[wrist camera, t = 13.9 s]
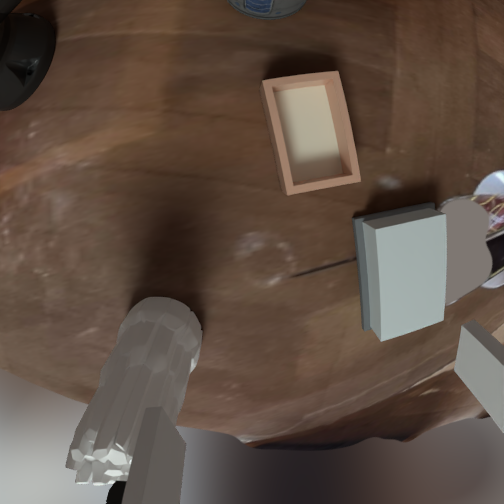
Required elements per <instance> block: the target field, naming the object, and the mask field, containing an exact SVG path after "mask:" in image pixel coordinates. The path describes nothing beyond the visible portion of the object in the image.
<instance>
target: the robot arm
mask: <svg viewBox="0 0 504 504" xmlns="http://www.w3.org/2000/svg"><path fill="white" fill-rule="evenodd" d="M21 1H22V0H0V111H7V110H11V109H13V108H16V107H17V106H19V105H21V104H22V103H23V102H24V101H26V100H27V99H28V98H29V97H30V96H31V95H32V94H33V92H34V91H35V90H36V89H37V87H38V86H39V84H40V83H41V81H42V80H43V78H44V76H45V74H46V72H47V70H48V68H49V66H50V63H51V60H52V57H53V53H54V48H55V33H54V29H53V27H52V25H51V24H50V22H49V21H48V20H46V19H45V18H43V17H41V16H39V15H37V14H34V13H11V12H12V11H13V9H14V8H15V7H16V6H17V5H18V4H19V3H20V2H21ZM454 371H455V372H456V373H457V375H458V376H459V377H460V378H461V379H462V381H463V382H464V383H465V384H466V386H467V387H468V388H469V389H470V391H471V392H472V393H473V394H474V396H475V397H476V398H477V399H478V401H479V402H480V403H481V404H482V406H483V407H484V408H485V410H486V411H487V412H488V413H489V415H490V416H491V417H492V419H493V420H494V421H495V423H496V424H497V425H498V427H499V428H500V429H501V431H502V432H503V433H504V346H503V345H502V344H501V343H500V342H499V341H498V340H497V339H495V338H494V337H493V336H492V335H491V334H490V333H489V332H488V331H487V330H485V329H484V328H483V327H482V326H481V325H480V324H479V323H478V322H476V321H475V320H472V321H470V322H468V323H465V324H463V325H462V327H461V334H460V340H459V346H458V352H457V358H456V363H455V368H454ZM185 450H186V443H185V441H184V440H183V438H182V437H181V435H180V434H179V432H178V431H177V429H176V428H175V426H174V425H173V423H172V421H171V420H170V418H169V417H168V415H167V414H166V412H165V410H164V409H163V407H162V406H160V407H149V408H146V409H145V413H144V416H143V420H142V423H141V427H140V431H139V435H138V438H137V442H136V446H135V450H134V454H133V458H132V462H131V466H130V470H129V474H128V478H127V481H117V480H116V481H115V483H114V484H113V486H112V487H111V488H110V490H109V492H108V496H107V500H106V502H107V503H106V504H180V495H181V485H182V476H183V467H184V458H185Z"/></svg>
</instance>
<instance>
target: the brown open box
mask: <svg viewBox="0 0 504 504" xmlns="http://www.w3.org/2000/svg"><path fill="white" fill-rule="evenodd" d="M259 91H260V96H261V100H262V104H263V109H264V113H265V117H266V122H267V126H268V131H269V135H270V140H271V144H272V149H273V154H274V158H275V163H276V168H277V172H278V177H279V182H280V187H281V190H282V191H283V192H284V193H285V194H286V195H292V194H297V193H302V192H307V191H312V190H317V189H322V188H328V187H333V186H338V185H344V184H349V183H355V182H361V178H360V172H359V166H358V160H357V154H356V149H355V144H354V138H353V133H352V128H351V123H350V119H349V114H348V109H347V105H346V101H345V96H344V92H343V88H342V84H341V80H340V76H339V72H338V71H331V72H320V73H311V74H303V75H295V76H288V77H281V78H274V79H268V80H262V83H261V86H260V90H259Z"/></svg>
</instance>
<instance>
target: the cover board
mask: <svg viewBox="0 0 504 504" xmlns="http://www.w3.org/2000/svg"><path fill="white" fill-rule="evenodd" d="M362 223H363V231H364V241H365V250H366V261H367V273H368V287H369V304H370V327H371V328H372V329H373V331H374V332H375V334H376V335H377V337H378V338H379V339H380V341H385V340H388V339H391V338H394V337H397V336H400V335H403V334H406V333H409V332H412V331H415V330H418V329H421V328H424V327H427V326H429V325H432V324H435V323H438V322H440V321H443V319H444V307H445V292H446V268H447V267H446V266H447V236H446V235H447V233H446V214H444V213H442V212H439V211H436V210H433V209H430V208H426V209H422V210H417V211H412V212H407V213H402V214H398V215H393V216H388V217H383V218H379V219H374V220H369V221H364V222H362Z"/></svg>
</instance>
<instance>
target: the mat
mask: <svg viewBox="0 0 504 504" xmlns="http://www.w3.org/2000/svg"><path fill="white" fill-rule="evenodd" d="M426 208H430V209H433V210H435V203H432V202H428V203H423V204H418V205H413V206H408V207H403V208H398V209H393V210H388V211H383V212H379V213H374V214H369V215H364V216H359V217H354V218H352V222H353V230H354V238H355V247H356V256H357V266H358V277H359V288H360V302H361V318H362V329H363V330H364V331H367V330H371V329H372V328H371V327H370V304H369V287H368V273H367V261H366V250H365V241H364V231H363V223H362V222H364V221H369V220H374V219H379V218H383V217H388V216H393V215H398V214H402V213H407V212H412V211H417V210H422V209H426Z"/></svg>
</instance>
